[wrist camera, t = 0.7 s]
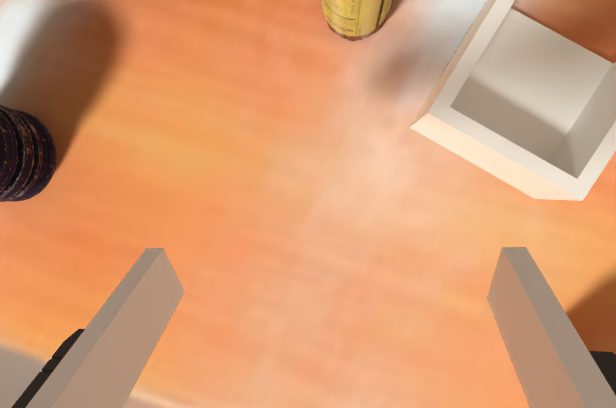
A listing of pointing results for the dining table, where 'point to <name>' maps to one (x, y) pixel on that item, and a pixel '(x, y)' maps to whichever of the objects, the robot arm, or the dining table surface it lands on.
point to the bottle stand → (525, 106)
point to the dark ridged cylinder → (24, 155)
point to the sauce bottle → (355, 17)
